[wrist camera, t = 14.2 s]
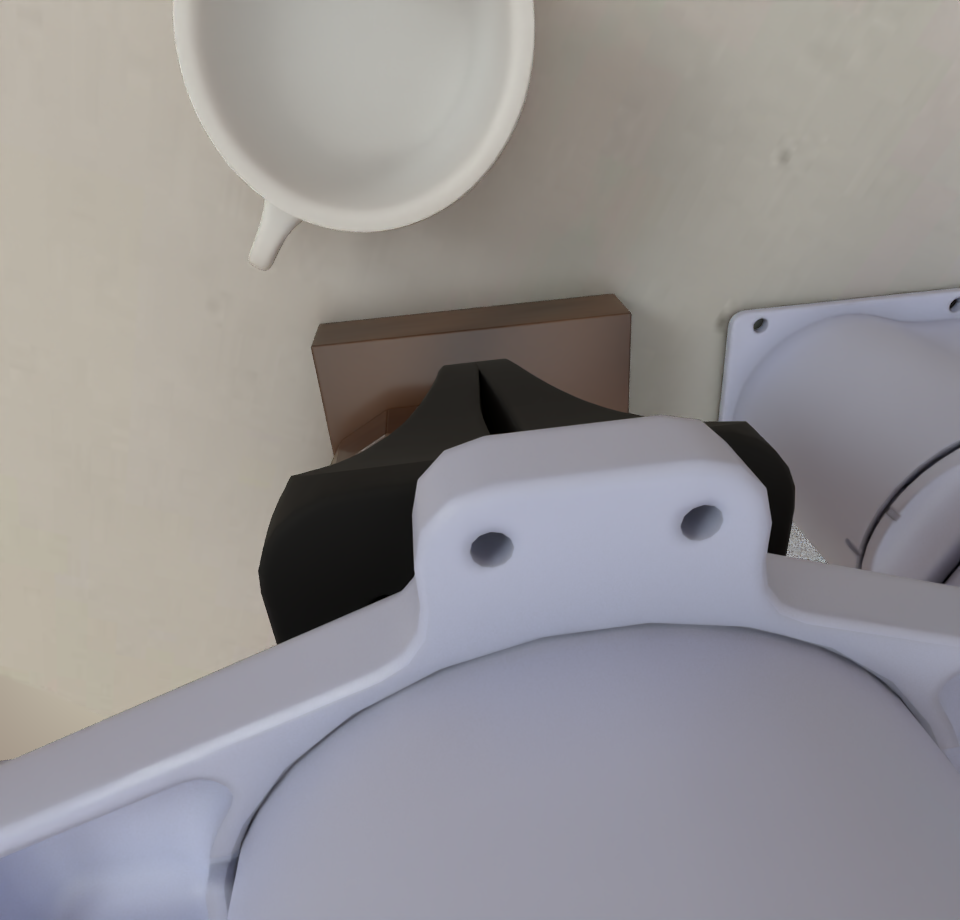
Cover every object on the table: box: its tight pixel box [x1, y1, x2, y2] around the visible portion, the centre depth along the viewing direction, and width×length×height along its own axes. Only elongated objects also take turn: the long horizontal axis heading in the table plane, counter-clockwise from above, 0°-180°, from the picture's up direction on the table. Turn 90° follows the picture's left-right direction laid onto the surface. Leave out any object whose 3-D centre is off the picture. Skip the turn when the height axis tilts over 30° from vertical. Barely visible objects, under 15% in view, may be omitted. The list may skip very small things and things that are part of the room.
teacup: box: [173, 0, 535, 271], centre depth 17 cm, size 10×8×5 cm
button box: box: [311, 294, 631, 465], centre depth 24 cm, size 11×12×4 cm
